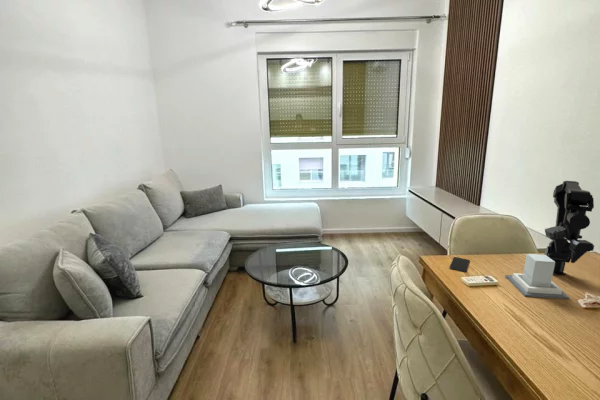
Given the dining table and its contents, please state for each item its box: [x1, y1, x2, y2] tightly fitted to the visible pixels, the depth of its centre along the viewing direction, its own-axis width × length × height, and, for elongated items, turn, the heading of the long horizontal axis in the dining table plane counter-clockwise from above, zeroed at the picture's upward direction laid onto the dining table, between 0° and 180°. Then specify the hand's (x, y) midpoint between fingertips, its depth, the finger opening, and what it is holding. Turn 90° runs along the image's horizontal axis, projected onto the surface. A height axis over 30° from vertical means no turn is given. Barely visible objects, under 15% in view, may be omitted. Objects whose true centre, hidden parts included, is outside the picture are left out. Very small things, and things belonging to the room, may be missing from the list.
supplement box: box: [522, 253, 555, 288], centre depth 130 cm, size 7×7×13 cm
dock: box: [504, 272, 570, 300], centre depth 132 cm, size 16×16×3 cm
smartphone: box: [448, 256, 471, 273], centre depth 153 cm, size 7×1×15 cm
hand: (564, 257), depth 129 cm, fingers open, 9 cm apart
